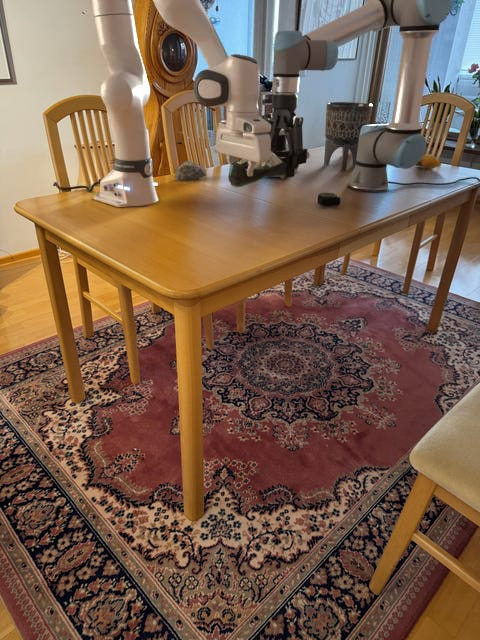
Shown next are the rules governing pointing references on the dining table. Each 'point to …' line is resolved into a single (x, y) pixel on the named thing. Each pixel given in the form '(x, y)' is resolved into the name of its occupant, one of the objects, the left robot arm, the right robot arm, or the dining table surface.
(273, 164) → the ballet flat
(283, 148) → the mechanical component
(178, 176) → the rock
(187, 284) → the dining table surface
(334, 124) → the planter
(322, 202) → the tape measure
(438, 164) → the toy
